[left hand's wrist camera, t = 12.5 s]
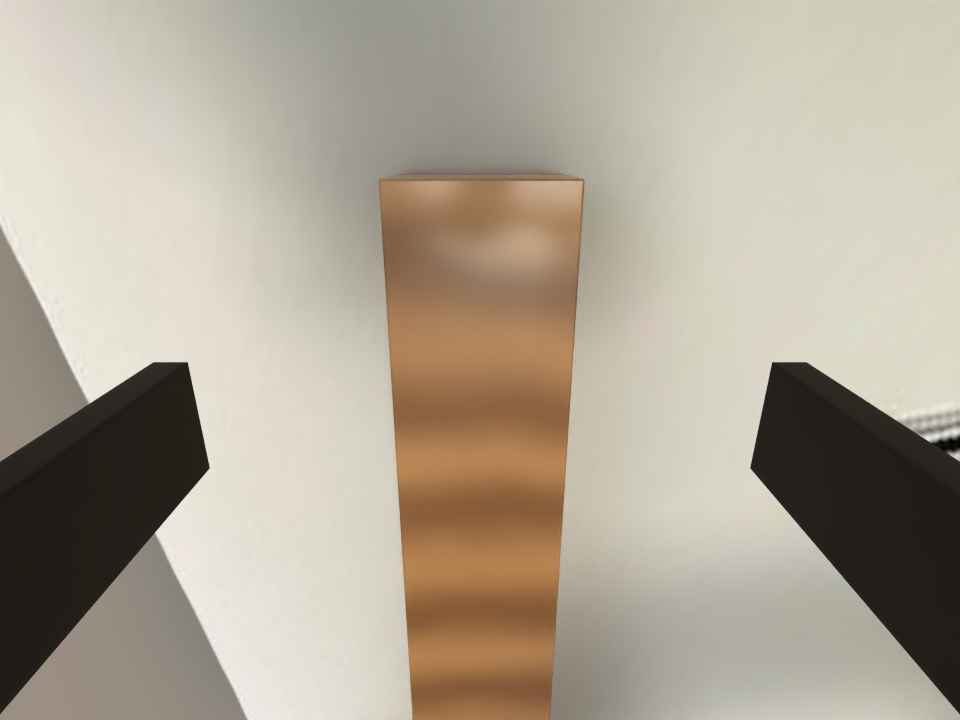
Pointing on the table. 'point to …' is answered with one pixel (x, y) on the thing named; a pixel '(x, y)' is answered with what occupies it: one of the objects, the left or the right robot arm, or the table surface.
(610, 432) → the table surface
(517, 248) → the wooden beam
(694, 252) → the table surface
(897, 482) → the left robot arm
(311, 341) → the table surface
